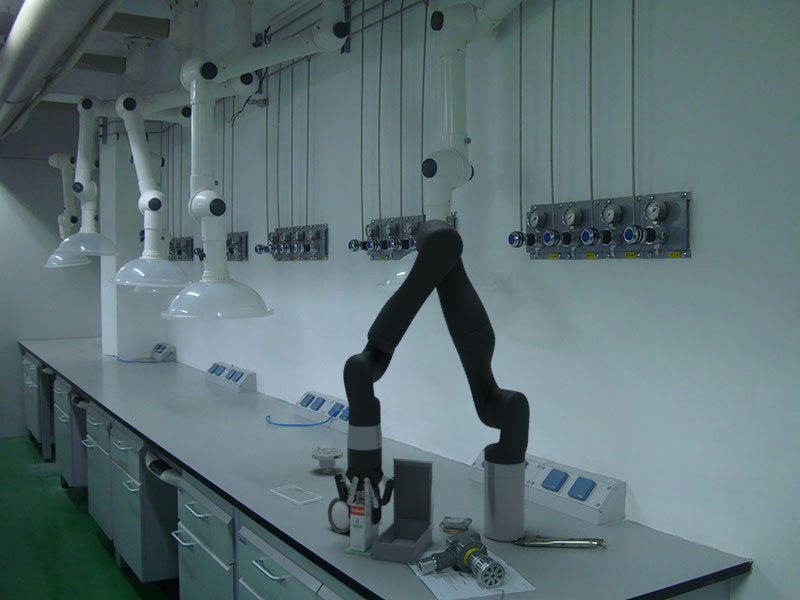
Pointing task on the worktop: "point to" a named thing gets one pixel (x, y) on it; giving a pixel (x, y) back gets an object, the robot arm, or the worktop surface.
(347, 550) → the mat
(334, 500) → the pipe fitting
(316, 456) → the showerhead
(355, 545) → the ink box
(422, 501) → the case
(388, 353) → the robot arm
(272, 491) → the phone case
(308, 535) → the worktop surface
